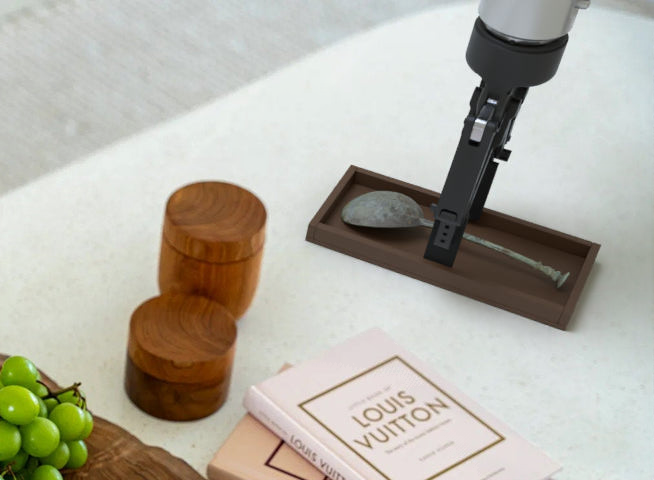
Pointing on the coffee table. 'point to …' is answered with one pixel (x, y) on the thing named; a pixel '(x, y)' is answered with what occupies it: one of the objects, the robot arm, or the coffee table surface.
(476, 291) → the cutlery tray
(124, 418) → the coffee table surface
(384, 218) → the soupspoon
